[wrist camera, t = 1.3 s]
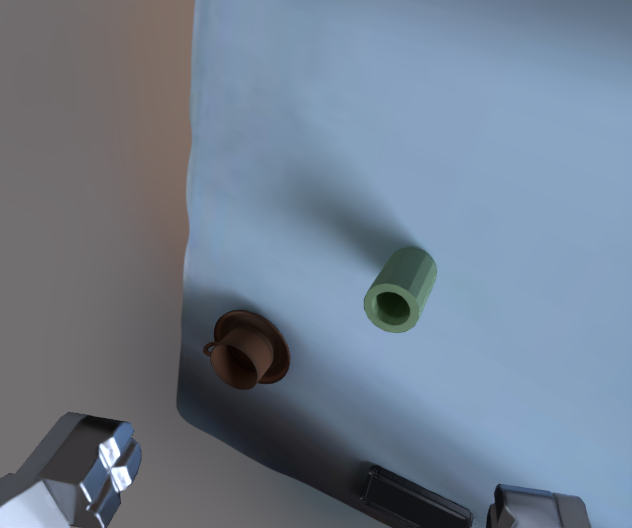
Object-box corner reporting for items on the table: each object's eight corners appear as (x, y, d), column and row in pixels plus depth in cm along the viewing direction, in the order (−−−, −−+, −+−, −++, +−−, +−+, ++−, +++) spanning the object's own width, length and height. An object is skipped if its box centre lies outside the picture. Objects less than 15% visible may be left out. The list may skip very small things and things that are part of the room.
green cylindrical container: (400, 238, 50) (376, 273, 43) (446, 262, 49) (429, 302, 42) (380, 276, 53) (355, 314, 46) (423, 299, 52) (404, 342, 45)
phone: (369, 469, 66) (474, 521, 62) (372, 463, 67) (475, 514, 63) (358, 501, 70) (455, 551, 66) (360, 494, 71) (457, 544, 67)
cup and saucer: (240, 376, 71) (217, 403, 66) (209, 308, 67) (181, 331, 62) (307, 374, 65) (287, 404, 60) (276, 299, 61) (252, 324, 56)
